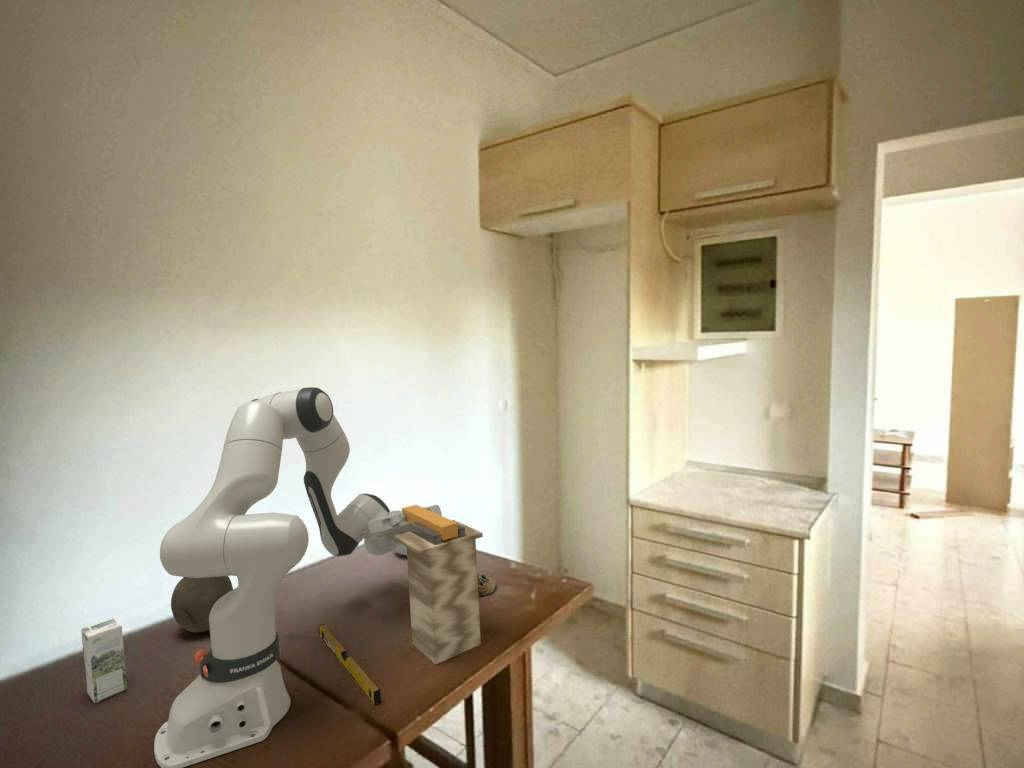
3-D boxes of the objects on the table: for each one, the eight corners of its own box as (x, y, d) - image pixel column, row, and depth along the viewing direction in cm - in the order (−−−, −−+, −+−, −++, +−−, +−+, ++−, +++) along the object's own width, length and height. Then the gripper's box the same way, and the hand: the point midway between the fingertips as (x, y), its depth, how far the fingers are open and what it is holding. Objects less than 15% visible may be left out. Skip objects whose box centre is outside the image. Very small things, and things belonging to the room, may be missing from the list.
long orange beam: (442, 540, 116) (442, 527, 116) (402, 519, 132) (401, 508, 131) (458, 536, 118) (457, 523, 118) (416, 516, 134) (416, 504, 134)
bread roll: (450, 594, 147) (451, 576, 148) (470, 582, 158) (470, 566, 158) (485, 602, 143) (486, 583, 143) (503, 590, 153) (504, 572, 153)
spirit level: (381, 703, 103) (380, 689, 103) (374, 706, 102) (373, 692, 102) (324, 635, 129) (324, 623, 129) (319, 637, 128) (318, 625, 128)
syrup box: (120, 680, 114) (113, 615, 113) (128, 690, 110) (121, 623, 109) (87, 694, 110) (80, 627, 109) (94, 705, 106) (87, 636, 105)
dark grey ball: (247, 622, 137) (242, 566, 136) (189, 649, 125) (184, 588, 124) (219, 609, 145) (215, 556, 144) (162, 633, 133) (157, 576, 132)
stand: (427, 668, 113) (419, 542, 111) (400, 643, 123) (393, 527, 122) (487, 640, 123) (482, 524, 121) (458, 619, 133) (452, 512, 131)
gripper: (354, 526, 135) (371, 509, 125) (425, 508, 148) (445, 492, 138) (360, 550, 133) (378, 535, 123) (431, 530, 145) (452, 515, 136)
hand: (414, 512), depth 131 cm, fingers closed on long orange beam, 4 cm apart
